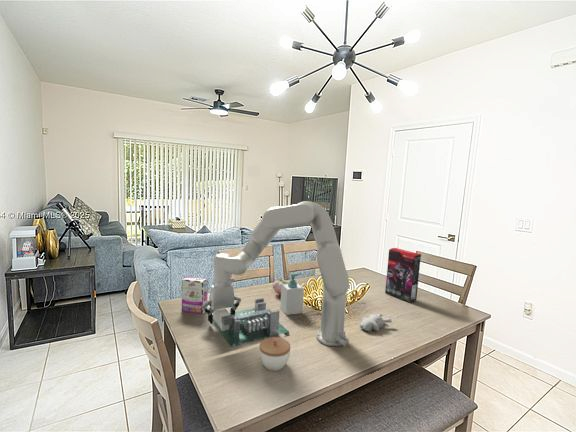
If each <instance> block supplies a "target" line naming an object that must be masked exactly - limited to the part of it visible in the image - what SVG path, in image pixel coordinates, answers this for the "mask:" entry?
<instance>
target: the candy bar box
mask: <svg viewBox="0 0 576 432" xmlns="http://www.w3.org/2000/svg"><path fill="white" fill-rule="evenodd" d="M208 280H209V279H208V278H201V277H193V276H186V277H183V278H182V279H181V311H182V312H188V313H193V314H199V315H204V314H205V313H206V312H205V311H204V309H203V307H202V305H203V304H204V303H206V302H207V301H209V297H208V296H209V295H208V290H209V289H208V286H209V285H208V284H209V281H208ZM206 308H207V309H208V306H207V307H206Z"/></svg>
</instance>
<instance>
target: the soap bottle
mask: <svg viewBox="0 0 576 432" xmlns="http://www.w3.org/2000/svg"><path fill="white" fill-rule="evenodd" d="M288 274H289V275H290V277H291V279H290V280H289V282H288V283H282V284H281V295H280V306H279V308H280V309H281V310H282V312H283V313H284V314H285V315H286V316H289V315H296V314H297V315H298V314H303V313H304V312H303V309H304V293H305V287H303V286H302V285H301V284H300V283H298V282H297V280H296V279H295V277H297V276H300V275H302V272H294V273H293V272H292V273H288Z"/></svg>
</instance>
